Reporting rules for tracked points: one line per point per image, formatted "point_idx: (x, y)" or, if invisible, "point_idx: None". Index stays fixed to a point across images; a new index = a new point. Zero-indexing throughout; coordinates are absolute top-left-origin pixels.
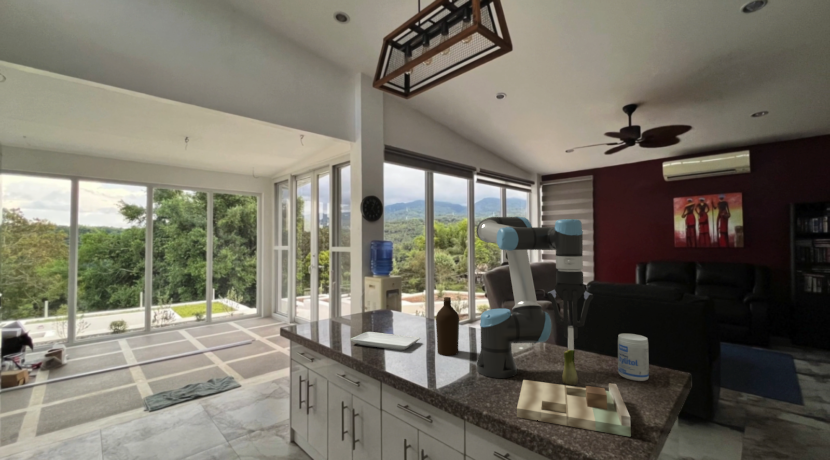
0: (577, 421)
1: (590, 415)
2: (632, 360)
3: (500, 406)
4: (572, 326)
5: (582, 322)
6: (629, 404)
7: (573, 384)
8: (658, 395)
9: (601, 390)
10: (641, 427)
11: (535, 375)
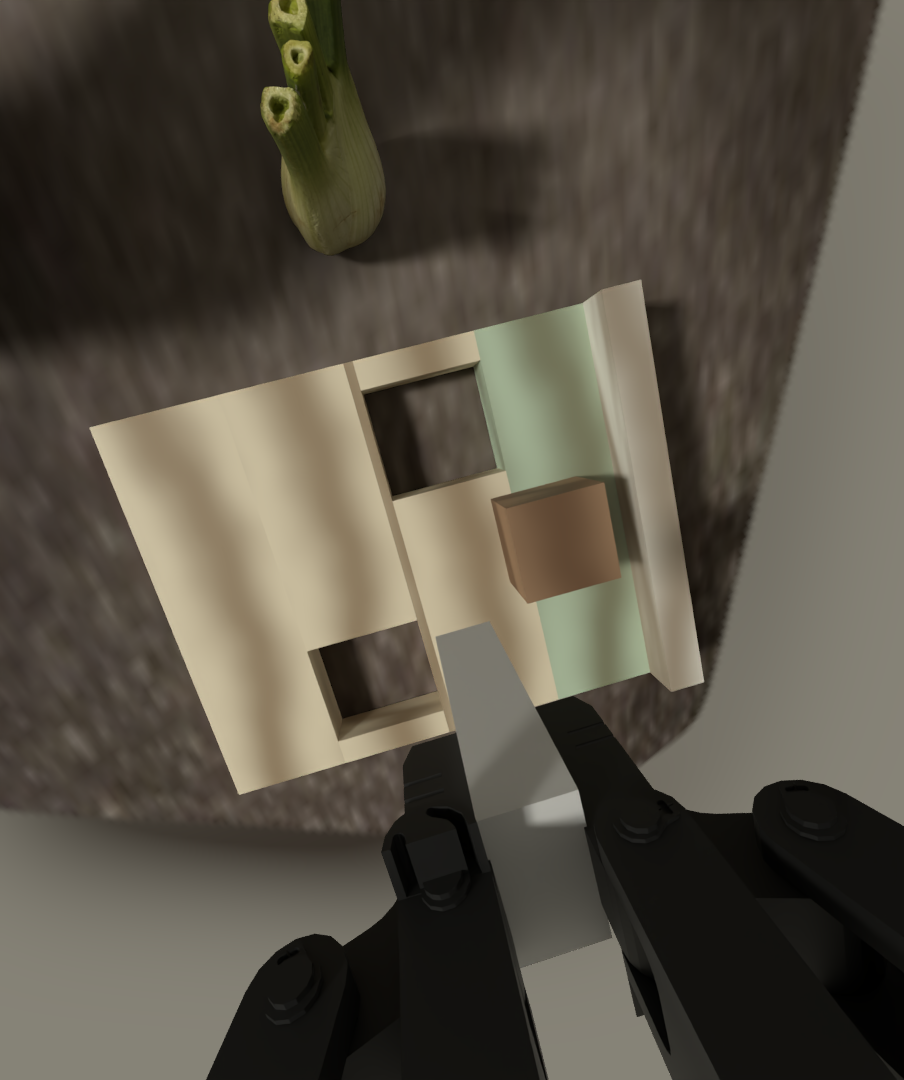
0: None
1: (534, 663)
2: None
3: (139, 725)
4: (574, 821)
5: (876, 1012)
6: (656, 323)
7: (368, 237)
8: (793, 84)
9: (592, 527)
10: (695, 545)
11: (83, 160)
